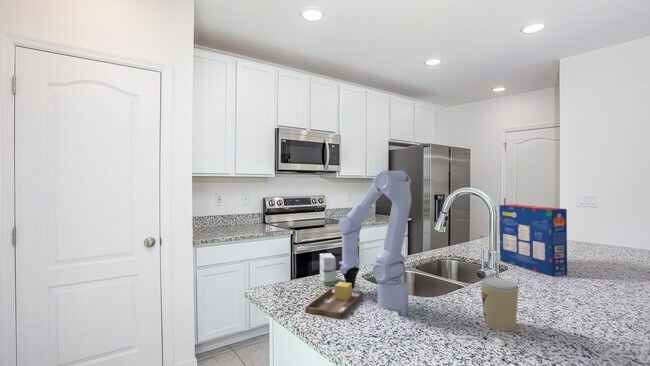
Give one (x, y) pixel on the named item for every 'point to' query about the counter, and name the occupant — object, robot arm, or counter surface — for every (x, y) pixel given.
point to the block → (343, 290)
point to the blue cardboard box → (534, 238)
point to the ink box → (327, 269)
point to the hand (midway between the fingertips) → (350, 288)
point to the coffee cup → (499, 303)
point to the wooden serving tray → (332, 305)
